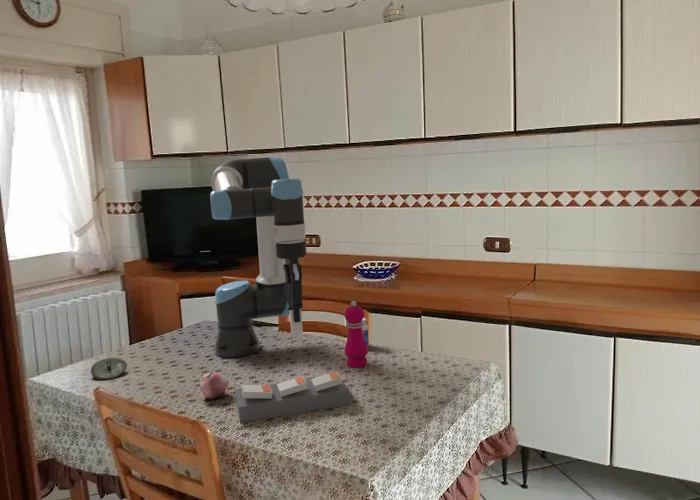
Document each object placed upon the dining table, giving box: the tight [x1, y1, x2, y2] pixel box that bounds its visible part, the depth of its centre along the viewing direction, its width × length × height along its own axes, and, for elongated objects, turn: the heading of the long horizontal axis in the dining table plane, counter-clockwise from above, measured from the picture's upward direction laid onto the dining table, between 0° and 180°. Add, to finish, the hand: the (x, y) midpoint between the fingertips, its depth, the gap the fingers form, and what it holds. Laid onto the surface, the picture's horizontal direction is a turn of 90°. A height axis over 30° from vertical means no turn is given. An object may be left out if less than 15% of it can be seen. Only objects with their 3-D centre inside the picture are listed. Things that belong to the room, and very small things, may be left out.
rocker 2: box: [276, 375, 308, 397], centre depth 150 cm, size 5×7×2 cm
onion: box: [199, 371, 230, 401], centre depth 160 cm, size 8×8×7 cm
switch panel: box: [234, 377, 351, 424], centre depth 152 cm, size 12×28×4 cm, turn 105°
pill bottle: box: [362, 317, 370, 348], centre depth 196 cm, size 6×5×10 cm
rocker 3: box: [310, 370, 343, 392], centre depth 152 cm, size 5×7×2 cm
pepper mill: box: [344, 300, 369, 369], centre depth 179 cm, size 7×7×20 cm
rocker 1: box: [241, 384, 272, 399], centre depth 147 cm, size 5×7×2 cm
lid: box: [90, 357, 128, 381], centre depth 183 cm, size 11×10×5 cm
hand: (297, 333), depth 148 cm, fingers closed
